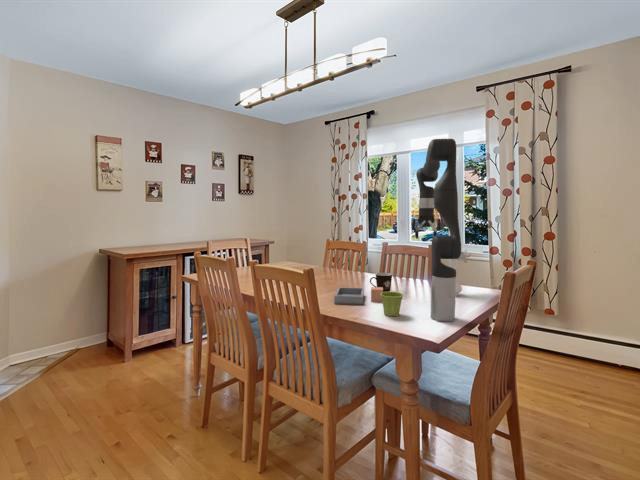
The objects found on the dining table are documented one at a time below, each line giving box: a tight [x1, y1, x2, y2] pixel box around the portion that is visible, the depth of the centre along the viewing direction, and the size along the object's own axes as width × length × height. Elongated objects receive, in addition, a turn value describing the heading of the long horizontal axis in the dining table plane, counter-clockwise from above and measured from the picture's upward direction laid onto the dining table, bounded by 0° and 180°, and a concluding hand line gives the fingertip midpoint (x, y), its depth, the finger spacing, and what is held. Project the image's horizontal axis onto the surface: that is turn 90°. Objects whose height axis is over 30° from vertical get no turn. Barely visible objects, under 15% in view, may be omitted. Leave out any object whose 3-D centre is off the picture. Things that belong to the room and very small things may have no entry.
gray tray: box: [333, 286, 365, 306], centre depth 172 cm, size 18×13×4 cm
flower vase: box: [448, 248, 472, 297], centre depth 181 cm, size 13×18×25 cm
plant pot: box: [380, 291, 404, 317], centre depth 147 cm, size 9×9×9 cm
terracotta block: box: [370, 286, 383, 303], centre depth 170 cm, size 6×6×6 cm
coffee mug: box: [369, 272, 393, 292], centre depth 185 cm, size 12×9×10 cm
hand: (425, 238), depth 183 cm, fingers open, 8 cm apart
